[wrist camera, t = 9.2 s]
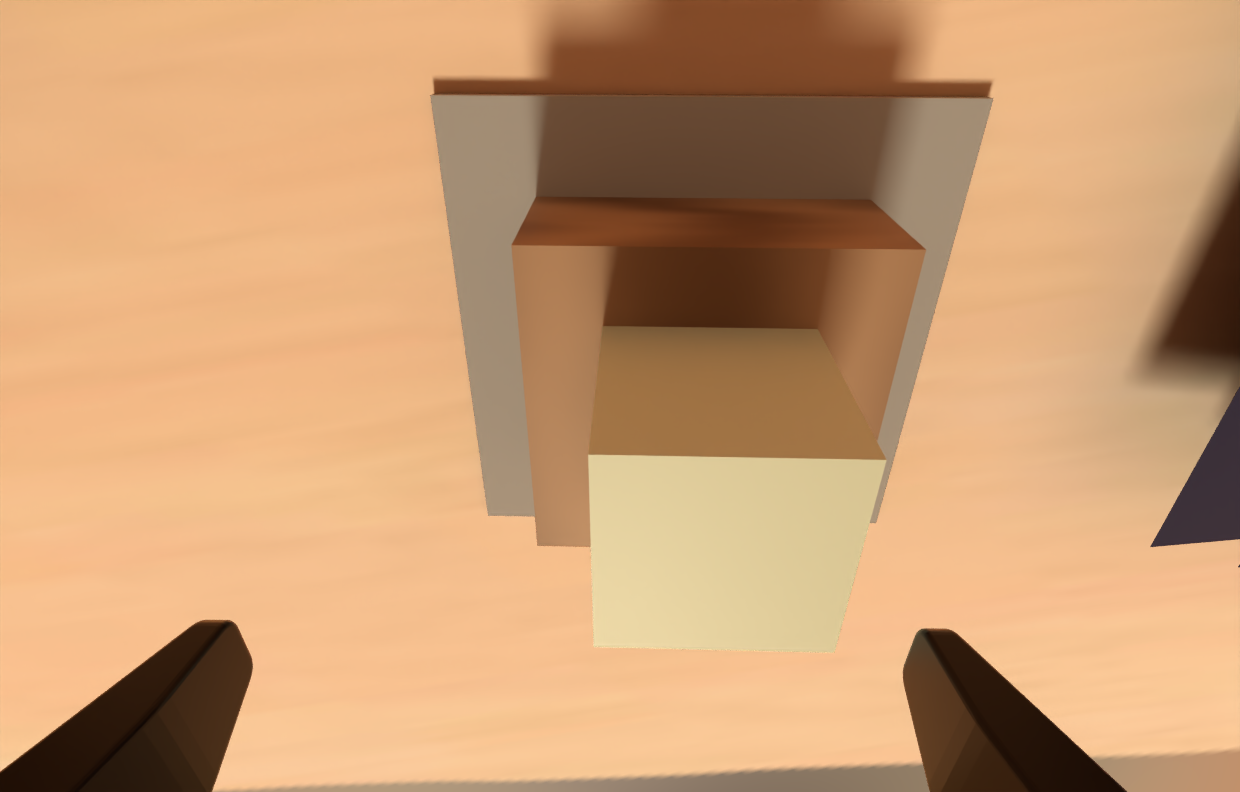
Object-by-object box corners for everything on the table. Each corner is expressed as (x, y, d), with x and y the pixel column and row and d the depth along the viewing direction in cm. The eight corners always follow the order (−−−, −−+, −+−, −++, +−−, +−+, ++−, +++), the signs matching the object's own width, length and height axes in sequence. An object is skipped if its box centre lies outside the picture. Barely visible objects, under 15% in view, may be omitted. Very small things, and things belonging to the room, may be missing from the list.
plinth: (553, 461, 22) (537, 545, 19) (535, 196, 18) (511, 245, 14) (817, 466, 22) (849, 552, 19) (870, 199, 18) (925, 249, 14)
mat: (489, 509, 24) (488, 515, 24) (433, 93, 17) (430, 95, 16) (873, 517, 24) (876, 523, 24) (988, 96, 16) (993, 98, 16)
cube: (604, 492, 18) (593, 647, 14) (602, 326, 15) (588, 454, 11) (788, 495, 18) (834, 652, 14) (817, 329, 15) (886, 459, 11)
